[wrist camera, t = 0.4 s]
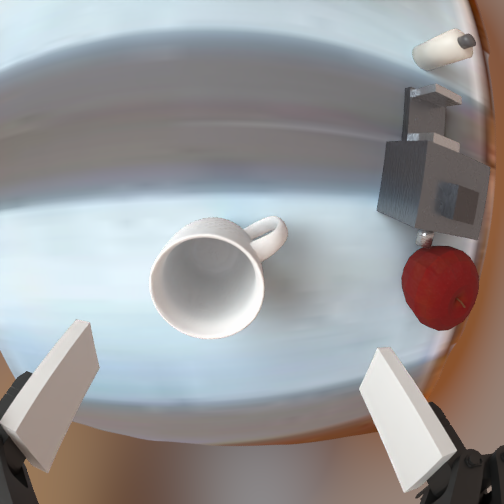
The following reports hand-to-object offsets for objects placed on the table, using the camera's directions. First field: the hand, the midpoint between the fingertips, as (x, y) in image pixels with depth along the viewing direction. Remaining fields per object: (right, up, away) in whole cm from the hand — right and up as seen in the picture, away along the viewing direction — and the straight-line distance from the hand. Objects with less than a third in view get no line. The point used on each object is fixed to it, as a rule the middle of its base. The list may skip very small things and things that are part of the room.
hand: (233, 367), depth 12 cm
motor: (+25, +18, +24) cm, 39 cm away
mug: (-3, +6, +27) cm, 28 cm away
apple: (+27, +2, +29) cm, 40 cm away
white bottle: (+27, +35, +18) cm, 48 cm away
